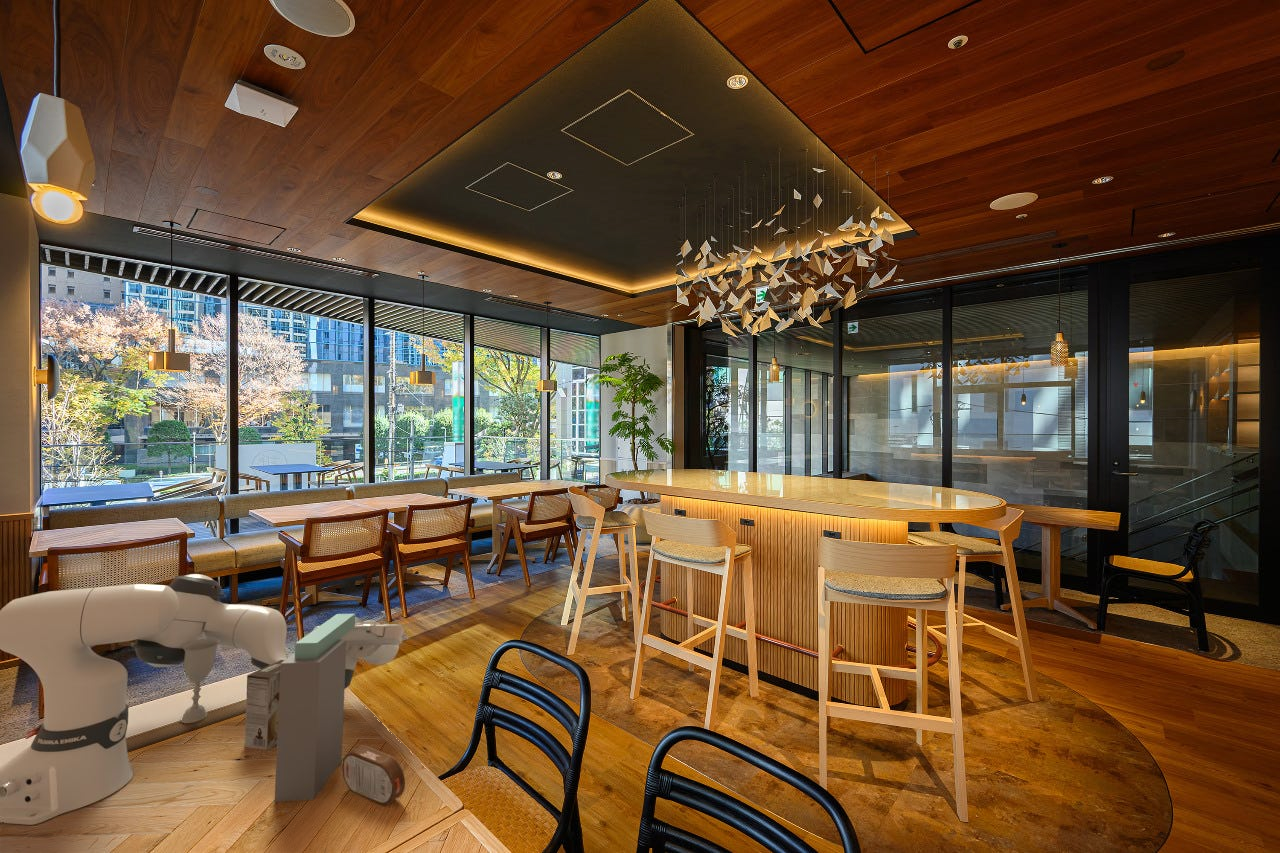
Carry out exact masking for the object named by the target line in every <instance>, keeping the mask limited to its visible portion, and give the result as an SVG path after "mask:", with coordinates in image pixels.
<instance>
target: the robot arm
mask: <svg viewBox="0 0 1280 853" xmlns="http://www.w3.org/2000/svg"><path fill="white" fill-rule="evenodd" d="M220 598H227V595H226V594H225V593H224V594H223V588H222V586H221V585H220V583H219V582H218V581H217V580H214V579H213V578H211V577H210V576H207V575H204V574H201V573H200V574H198V573H190V574H186V575H179V576H177V577H175V578H174V579H173V580H172V581H171V583H169V585H164V584H153V583H151V584H150V583H149V584H148V583H133V584H132V583H131V584H120V585H110V586H107V585H106V586H97V587H87V588H86V587H85V588H76V589H75V588H74V589H63V590H52V591H46V592H40V593H35V594H31V595H28V596H23V597H19V598H18V597H17V598H14V599H12V600H11V601H9V602H8V603H7V604H6V605H5V606H3V607H2V608H1V610H0V650H1V651H3V652H4V653H8V654H10V655H13V656H15V657H17V658H19V659H21V660H22V661H24V662H25V663H26V664H28V666H30V667H31V668H32V669H33V671H34V672H35V674H36V675H37V677H38V678H39V680H40V683H41V685H42V689H43V691H42V692H43V704H44V706H43V722H42V723H41V724H39V725H38V727H35V728H33V729H32V730H30V731H28V732H26V733H25V735H27V736H26V737H25V739H26V740H28V739H30V738H32V737H34V739H33V741H32V742H31V745H30V746H28V747H27V748H25V749H24V750H22V751H21V752H20V753H18V754H17V755H16V756H14V757H13V758H12V759H10V760H9V761H7V762H6V763H4V764H3V765H2V766H0V822H4V823H3V824H16V825H25V826H26V825H27V826H30V825H31V826H32V825H37V824H40V823H43V822H45V821H47V820H49V819H52V818H55V817H57V816H58V815H59V816H60V815H62V814H65V813H68V812H71V811H75V810H77V809H80V808H82V807H85V806H88V805H92V804H94V803H97V802H98V801H101V800H103V799H104V798H106V797H109V796H110V795H112V794H115V792H118V791H119V790H120V789H122V788H124V787H125V785H127V784H128V783H129V782H130V781H131V780H132V778H133V775H134V772H133V771H134V770H133V768H132V765H131V762H130V759H129V754H128V748H127V739H126V738H127V737H126V734H127V731H128V725H129V705H128V704H127V690H128V688H127V687H128V676H129V674H128V671H127V669H126V667H125V666H124V665H123V664H122V663H121V662H119V661H117V660H114V659H111V658H107V657H104V656H101V655H99V654H97V653H96V652H94V651H93V649H92V648H91V647H92V646H100V645H107V644H114V643H123V642H130V641H134V640H135V643H130V647H131V648H134V649H135V655H136V657H137V658H138V659H139V660H140V662H143V663H145V664H148V665H149V666H152V667H156V668H167V667H173V666H177V665H181V664H184V659H185V650H184V649H183V646H184V645H185V644H187V643H189V642H192V641H195V640H199V639H200V637H201V636H203V637H204V639H206V638H215V639H218V640H220V642H219V644H218V645H219V646H223V647H227V648H231V649H236V650H241V651H242V650H243V651H245V652H246V653H248V655H249V657H250V662H251V664H252V665H253V666H254V667H257V668H259V670H260V669H262V668H264V667H266V666H269V665H271V664H273V663H275V662H277V661H280V660H286V659H287V658H288V657H287V653H286V641H287V640H286V639H287V631H288V628H287V627H288V626H287V622H286V620H285V617H284V615H283V614H282V613H281V612H280V611H279V610H277V609H274V608H272V607H268V606H262V605H255V604H243V603H241V604H240V603H239V604H237V603H236V604H235V603H233V604H232V603H230V604H229V603H223V602H221V600H220ZM319 626H320V625H317V626H314V628H313V630H312V631H314V630H315V629H316V628H318V627H319ZM404 632H405V628H404V627H403V625H402V624H401V625H400V624H381V623H380V622H378V621H375V620H368V619H365V618H361V617H356V616H355V627H354V628H353V629H351V630H350V631H349V632H348V633H346V634H345V635H344V636H343V637H342V638H340V639H347V640H346V665H345V689H344V690H346V689H347V688H348V687H349V686H350V685H351V683H352V681H353V680H352V679H353V677H354V672H355V668H356V666H357V663H358V661H359V660H362V661H364V662H366V663H368V664H371V665H378V666H381V665H386V664H388V663H390V662H392V661H393V660H394V659H395V657H396V656H397V654H398V651H399V646H400V645H401V644H402V643H403V641H405V640H406V641H407V640H409V635H408V634H406V633H404ZM340 639H339V640H340Z"/></svg>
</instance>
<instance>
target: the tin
mask: <svg viewBox="0 0 1280 853" xmlns="http://www.w3.org/2000/svg"><path fill="white" fill-rule="evenodd" d="M342 778H343V782H344V783H345V785H346V786H347V788H348V789H349V791H351V792H352V793H354V794H356V795H357V796H360V797H363V798H365V799H367V800H368V801H371V802H374V803H375V804H378V805H380V806H388V805H390V804H391V803H392V802H394V801H395V800H396V799H397V798H398V799H399V798H400V797H401V796H402V795H403V793H404V791H405V787H406V777H405V773H404V770H403V767H402V766H401V764H400V763H399V761H398V760H397V759H396V758H395V757H394V756H392V755H390V754H388V753H385V752H382V751H380V750H378V749H375V748H372V747H370V746H367V745H364V744H359V745H357V746H356V747H354V748H353V749H351V750H350V751H348V752H347V753H346V754H345V756H344V757H343V759H342Z"/></svg>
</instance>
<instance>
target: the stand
mask: <svg viewBox="0 0 1280 853" xmlns="http://www.w3.org/2000/svg"><path fill="white" fill-rule="evenodd" d="M346 640H347V639H340V640H338V641H337V642H336V643H334V644H333V645H332V646H331V647H329V648H328V649H327V650H326V651H325V652H323V653H322V654H321V655H320V656H319V657H317V658H308V659H295V652H294V653H293V654H292V655H290V656H288V657H287V659H286V660H285V661H283V662H282V663H281V668H280V690H279V712H278V734H277V744H276V757H275V758H276V762H275V780H274V781H275V784H274V800H273V801H274V803H278V802H279V803H281V802H283V803H284V802H297V801H311V800H312V801H313V800H315V798H316V797H317V796H318V795H319V793H320V791H322V789H323V788H324V787H325V785H326V783H328V781H329V780H330V778H331V777H332V776H333V775H334V773H335V772H336V770H337V769H336V768H339V766H340V765H341V763H343V759H342V758H343V735H344V732H343V731H344V710H345V690H346V689H345V665H346ZM339 764H340V765H339ZM334 771H335V772H334ZM333 772H334V773H333ZM331 775H332V776H331Z"/></svg>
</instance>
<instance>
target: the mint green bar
mask: <svg viewBox="0 0 1280 853" xmlns="http://www.w3.org/2000/svg"><path fill="white" fill-rule="evenodd" d="M355 617H356V613H336V614H334V616H332V617H330V618H329V619H328V620H326V621H325V622H324V623H322V624H320V625H318V626H319V627H318V628H316V629H315V630H314V631H313V630H312V631H311V632H309V633H308V634H307V635H305V636H304V637H302V638H300V639H299V640H298V641H297V642H295V646H294V653H295V659H308V658H317V657H319V656H320V655H321V654H322V653H323V652H325V651H326V650H327V649H328V648H329V647H331V646H332V645H333V644H334V643H336V642H337V641H338V640H339V639H340V638H342V637H343V636H344V635H345V634H346V633H348V632H349V631H350V630H351V629H353V628H354V627H355Z"/></svg>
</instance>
